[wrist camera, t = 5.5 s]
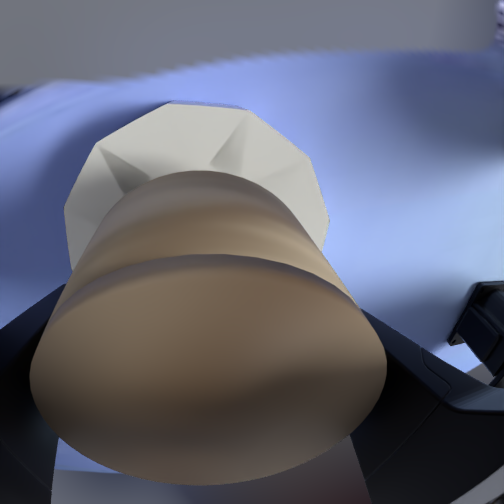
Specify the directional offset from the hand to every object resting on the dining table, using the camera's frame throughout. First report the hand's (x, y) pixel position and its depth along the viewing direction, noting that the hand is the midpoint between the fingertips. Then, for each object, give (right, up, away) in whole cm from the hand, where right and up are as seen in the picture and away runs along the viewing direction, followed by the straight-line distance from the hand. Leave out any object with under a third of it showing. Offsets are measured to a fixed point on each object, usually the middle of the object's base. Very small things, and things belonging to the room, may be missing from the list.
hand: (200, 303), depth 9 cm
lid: (0, 0, +1) cm, 1 cm away
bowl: (-1, +3, +6) cm, 7 cm away
